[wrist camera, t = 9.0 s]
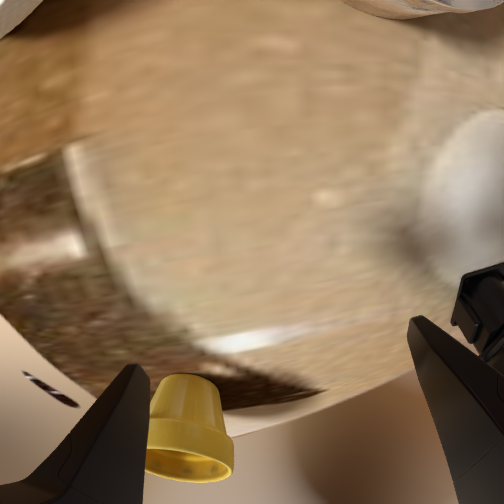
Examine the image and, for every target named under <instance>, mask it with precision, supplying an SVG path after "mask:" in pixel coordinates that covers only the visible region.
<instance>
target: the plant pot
mask: <svg viewBox="0 0 504 504" xmlns="http://www.w3.org/2000/svg"><path fill="white" fill-rule="evenodd" d="M233 469H234V445H233V441H232V439H231V438H230V437H229V436H228V435H227V434H226V429H225V424H224V418H223V413H222V407H221V401H220V395H219V391H218V388H217V387H216V386H215V385H214V384H213V383H212V382H210V381H209V380H207V379H205V378H202V377H200V376H196V375H192V374H173V375H169V376H167V377H165V378H164V379H163V380H162V381H161V383H160V384H159V386H158V388H157V391H156V393H155V395H154V397H153V398H152V400H151V402H150V422H149V432H148V441H147V451H146V462H145V471H146V472H148V473H151V474H154V475H156V476H160V477H163V478H167V479H172V480H177V481H184V482H197V483H201V482H203V483H205V482H215V481H220V480H223V479H226V478H228V477H229V476H230V475H231V474H232V473H233Z"/></svg>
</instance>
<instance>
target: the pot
mask: <svg viewBox="0 0 504 504" xmlns="http://www.w3.org/2000/svg"><path fill="white" fill-rule="evenodd" d="M341 1H342V2H344V3H345V4H347V5H349V6H351V7H353V8H355V9H358V10H360V11H363V12H365V13H368V14H371V15H374V16H378V17H383V18H388V19H412V18H417V17H422V16H427V15H433V14H438V13H444V12H454V13H459V14H460V13H469V12H474V11H476V10H474V11H457V10H449V9H445V8H441V7H437V6H434V5H432V4H429V3H426V2H423V1H421V0H341Z"/></svg>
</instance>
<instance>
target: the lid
mask: <svg viewBox="0 0 504 504" xmlns="http://www.w3.org/2000/svg"><path fill="white" fill-rule="evenodd" d="M421 1H423V2H426V3H429V4H432V5H434V6H437V7H441V8H445V9H449V10H457V11H474V10H485V9H489V8H494V7H496V6H498V5H500V4H502V3H503V2H504V0H421Z"/></svg>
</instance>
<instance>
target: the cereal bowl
mask: <svg viewBox="0 0 504 504" xmlns="http://www.w3.org/2000/svg"><path fill="white" fill-rule="evenodd" d="M42 1H43V0H0V39H1V38H2V37H3V36H5V35H6V34H7V33H8V32H10V31H11V30H13V29H14V28H15V26H17V25H18V24H20V23H21V22H22V21H23V20H24V19H25V18H26V17H27V16H28V15H29V14H31V13H32V11H33V10H34V9H35V8H36V7H37V6H38V5H39V4H40V3H41V2H42Z"/></svg>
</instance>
